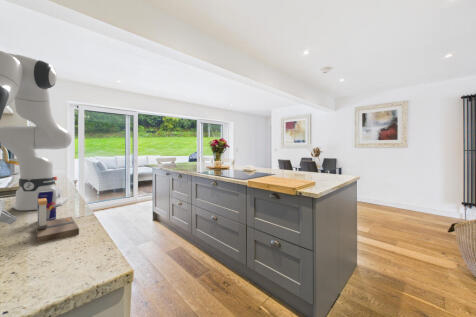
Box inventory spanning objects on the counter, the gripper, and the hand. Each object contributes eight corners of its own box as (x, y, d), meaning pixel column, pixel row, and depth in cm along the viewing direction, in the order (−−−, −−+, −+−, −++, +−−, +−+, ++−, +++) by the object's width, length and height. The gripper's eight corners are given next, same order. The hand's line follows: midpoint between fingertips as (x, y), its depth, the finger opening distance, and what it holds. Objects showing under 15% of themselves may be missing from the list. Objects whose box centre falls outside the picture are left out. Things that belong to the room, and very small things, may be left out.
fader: (38, 229, 65) (38, 201, 64) (38, 225, 68) (37, 198, 68) (47, 227, 66) (47, 200, 66) (46, 224, 70) (46, 198, 69)
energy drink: (44, 223, 77) (44, 192, 76) (33, 222, 78) (33, 191, 77) (59, 218, 82) (59, 189, 81) (49, 217, 83) (49, 189, 82)
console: (37, 243, 61) (37, 236, 61) (35, 228, 72) (35, 222, 72) (78, 234, 68) (78, 227, 68) (71, 221, 79) (71, 216, 79)
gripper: (-35, 192, 49) (24, 221, 57) (-21, 181, 63) (24, 206, 71) (-66, 213, 46) (0, 241, 54) (-45, 197, 60) (5, 221, 68)
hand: (14, 221), depth 62 cm, fingers closed
